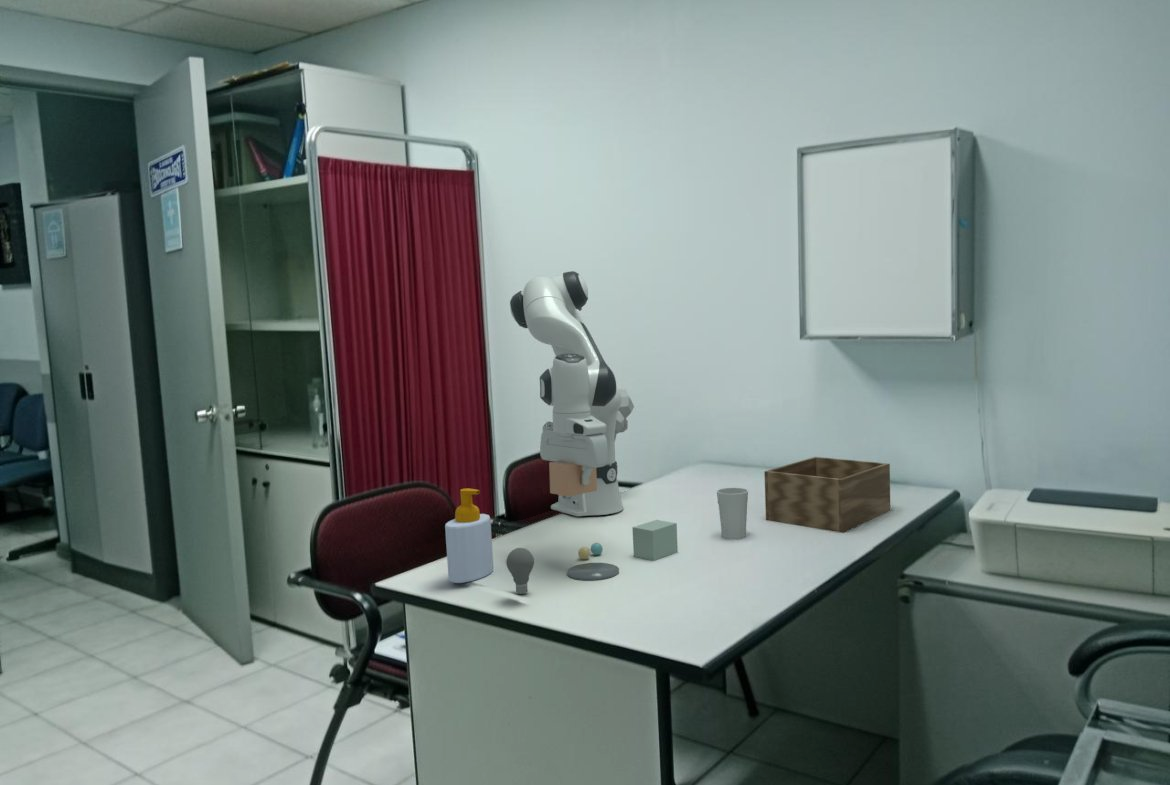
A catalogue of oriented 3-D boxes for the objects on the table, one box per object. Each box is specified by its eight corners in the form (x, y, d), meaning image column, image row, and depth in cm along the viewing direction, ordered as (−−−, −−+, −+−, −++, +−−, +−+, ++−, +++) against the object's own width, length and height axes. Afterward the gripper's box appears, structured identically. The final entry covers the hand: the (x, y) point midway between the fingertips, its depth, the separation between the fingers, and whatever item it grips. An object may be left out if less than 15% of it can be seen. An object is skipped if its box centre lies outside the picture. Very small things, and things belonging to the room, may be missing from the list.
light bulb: (508, 590, 201) (505, 545, 200) (535, 588, 202) (532, 543, 201) (508, 599, 195) (505, 553, 194) (536, 596, 196) (533, 551, 195)
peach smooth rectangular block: (550, 493, 215) (549, 462, 214) (578, 487, 221) (577, 457, 220) (568, 496, 210) (567, 465, 209) (596, 490, 216) (596, 460, 215)
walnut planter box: (765, 522, 250) (764, 471, 248) (815, 504, 268) (814, 456, 267) (842, 534, 233) (841, 480, 232) (890, 514, 252) (889, 463, 250)
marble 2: (586, 547, 225) (594, 538, 226) (591, 554, 227) (599, 545, 228) (593, 552, 223) (602, 543, 224) (598, 559, 225) (606, 550, 226)
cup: (749, 540, 232) (747, 493, 231) (717, 540, 233) (715, 494, 232) (750, 532, 240) (748, 487, 238) (719, 532, 241) (717, 487, 240)
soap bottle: (466, 585, 206) (461, 496, 204) (439, 581, 210) (433, 494, 208) (502, 569, 217) (497, 485, 215) (475, 565, 221) (470, 483, 220)
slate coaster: (556, 574, 211) (555, 572, 211) (592, 562, 219) (592, 559, 219) (593, 583, 203) (593, 581, 203) (629, 570, 211) (629, 568, 211)
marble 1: (573, 553, 222) (580, 543, 222) (579, 556, 224) (586, 546, 224) (582, 560, 220) (588, 549, 220) (588, 563, 222) (594, 552, 223)
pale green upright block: (633, 556, 223) (632, 527, 222) (657, 548, 229) (656, 519, 228) (653, 560, 218) (652, 530, 218) (677, 552, 225) (676, 523, 224)
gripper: (532, 422, 219) (534, 479, 221) (591, 428, 204) (592, 489, 206) (553, 419, 224) (554, 475, 225) (611, 425, 209) (613, 485, 210)
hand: (573, 482), depth 215 cm, fingers closed on peach smooth rectangular block, 6 cm apart
